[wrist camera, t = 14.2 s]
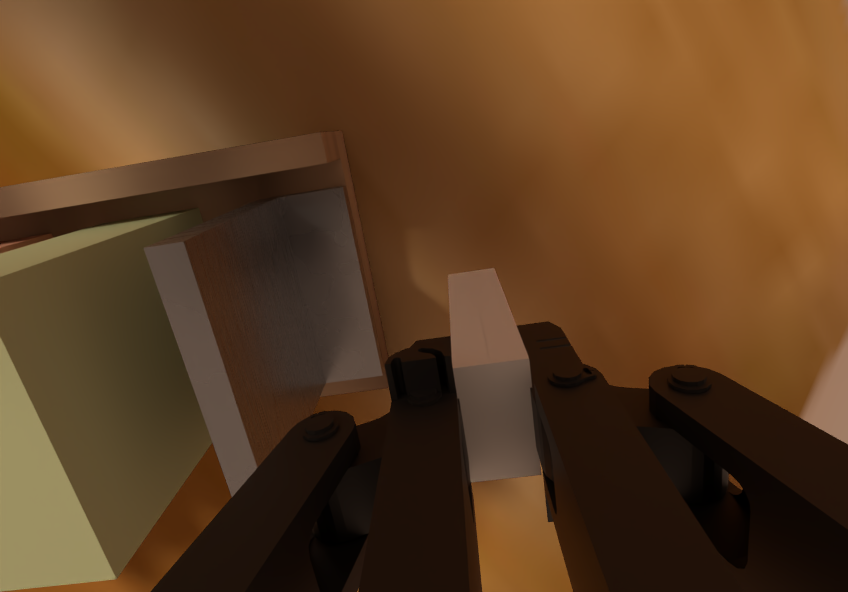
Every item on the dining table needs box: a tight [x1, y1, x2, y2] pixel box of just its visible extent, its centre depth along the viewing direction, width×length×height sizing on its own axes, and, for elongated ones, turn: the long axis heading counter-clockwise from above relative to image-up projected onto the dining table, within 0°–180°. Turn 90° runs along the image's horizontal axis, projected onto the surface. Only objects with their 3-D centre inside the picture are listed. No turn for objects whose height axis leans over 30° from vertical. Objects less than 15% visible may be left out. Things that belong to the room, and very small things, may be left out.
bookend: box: [143, 185, 384, 497], centre depth 17 cm, size 4×8×8 cm, turn 9°
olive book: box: [0, 208, 212, 591], centre depth 16 cm, size 4×8×10 cm, turn 9°
